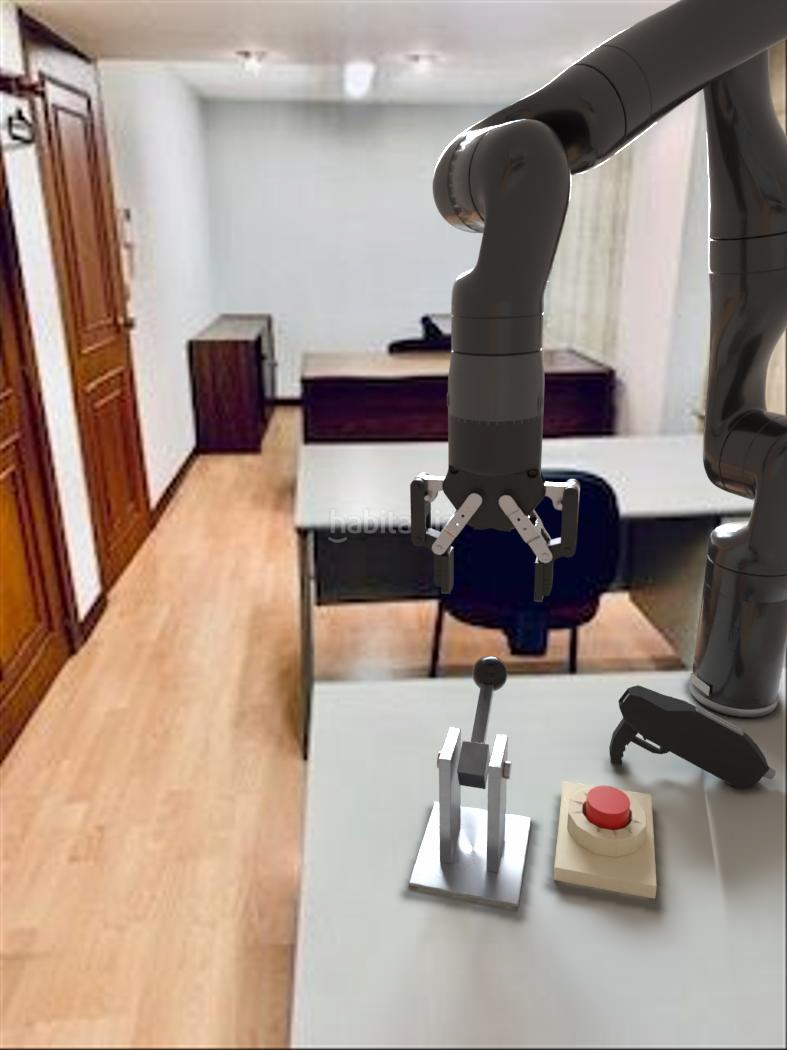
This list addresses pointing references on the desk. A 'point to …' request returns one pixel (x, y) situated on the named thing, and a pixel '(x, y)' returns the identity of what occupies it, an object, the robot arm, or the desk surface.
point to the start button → (607, 807)
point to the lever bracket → (473, 834)
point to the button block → (606, 846)
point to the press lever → (481, 723)
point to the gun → (688, 737)
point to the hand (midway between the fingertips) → (492, 593)
